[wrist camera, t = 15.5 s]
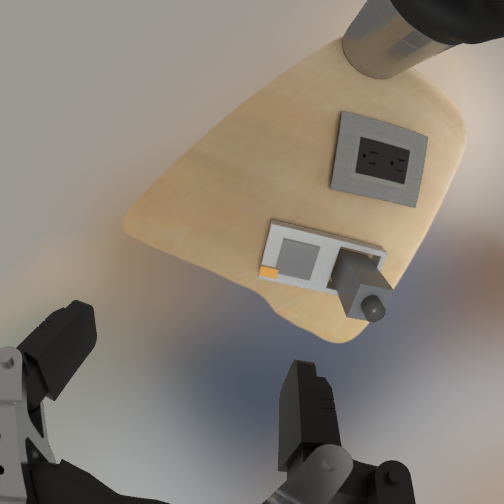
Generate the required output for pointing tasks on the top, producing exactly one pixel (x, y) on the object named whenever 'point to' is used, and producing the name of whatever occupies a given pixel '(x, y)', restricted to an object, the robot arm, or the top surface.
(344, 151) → the electrical outlet
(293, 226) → the grey rectangular frame
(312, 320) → the top surface
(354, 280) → the plug
